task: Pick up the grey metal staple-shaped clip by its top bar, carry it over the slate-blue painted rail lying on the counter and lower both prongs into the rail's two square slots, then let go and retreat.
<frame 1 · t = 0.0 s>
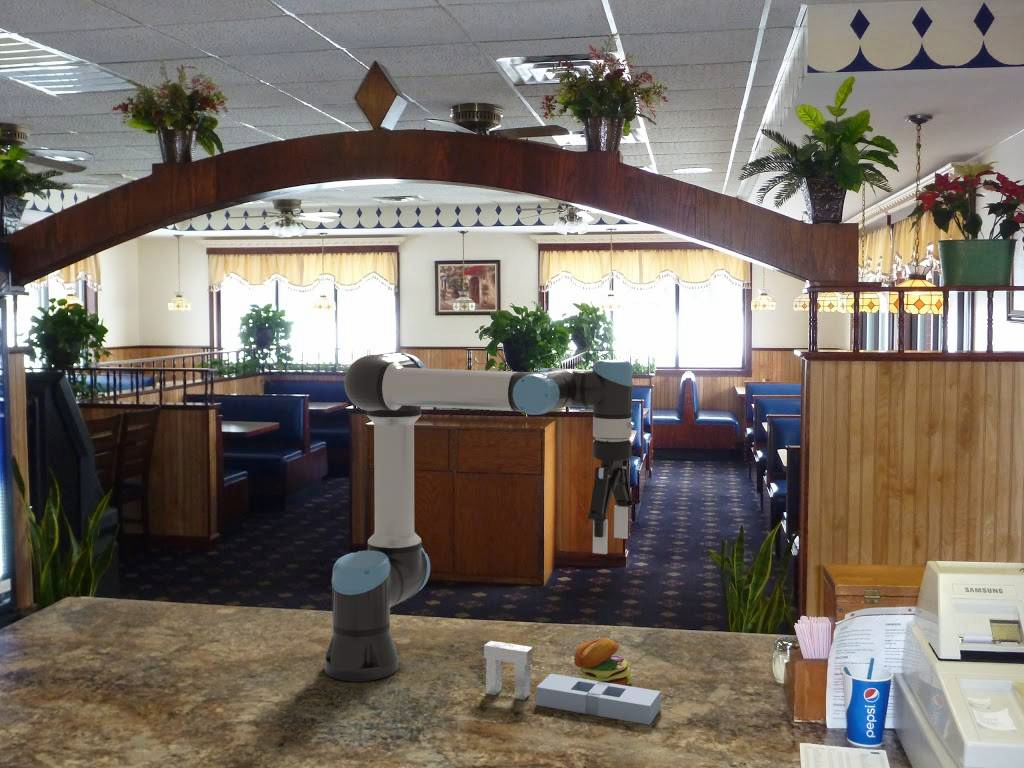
hand: (610, 545, 199), 28 cm above the countertop, fingers open, 13 cm apart
clip: (508, 693, 196), on the countertop
rail: (598, 707, 190), on the countertop
cheeseburger: (602, 683, 202), on the countertop
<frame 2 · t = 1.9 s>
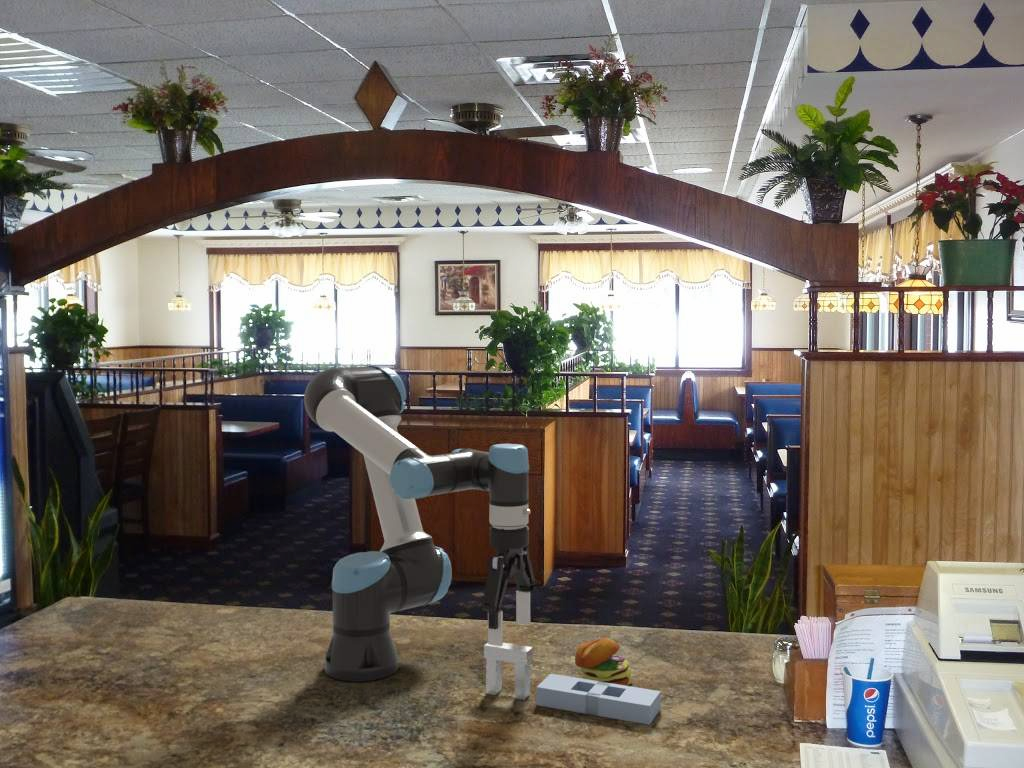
hand: (509, 634, 195), 12 cm above the countertop, fingers open, 13 cm apart
nothing on the countertop moved.
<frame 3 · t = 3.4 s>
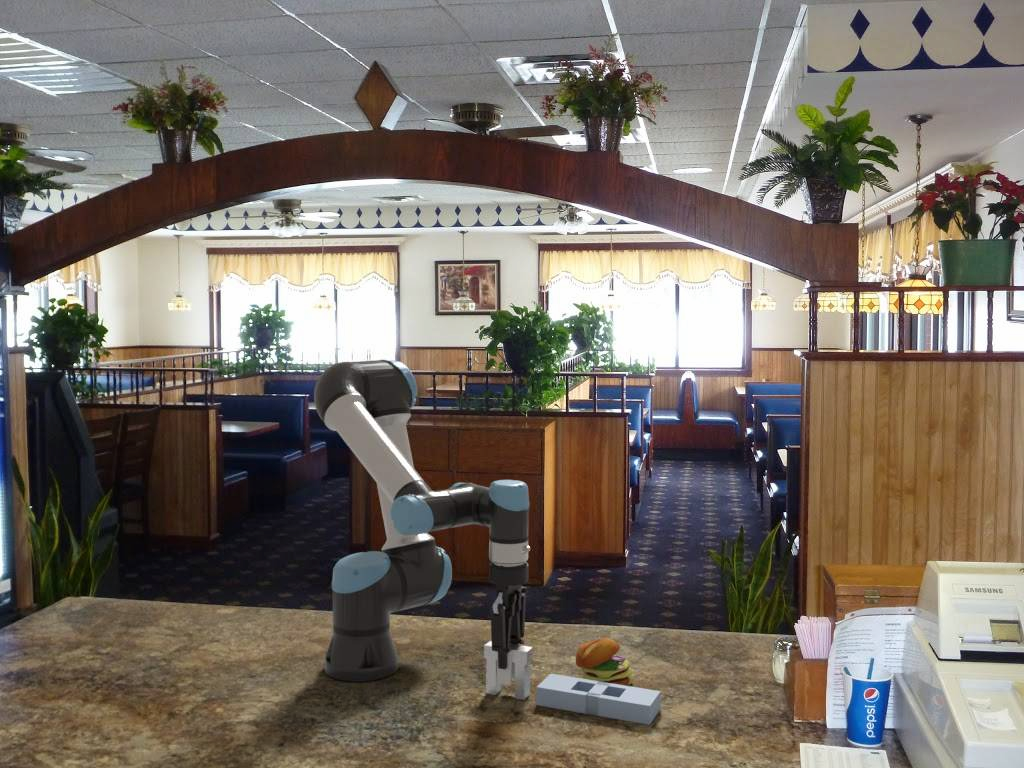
hand: (508, 680, 196), 3 cm above the countertop, fingers closed on clip, 3 cm apart
clip: (508, 693, 196), on the countertop, touching gripper
everything else where it was.
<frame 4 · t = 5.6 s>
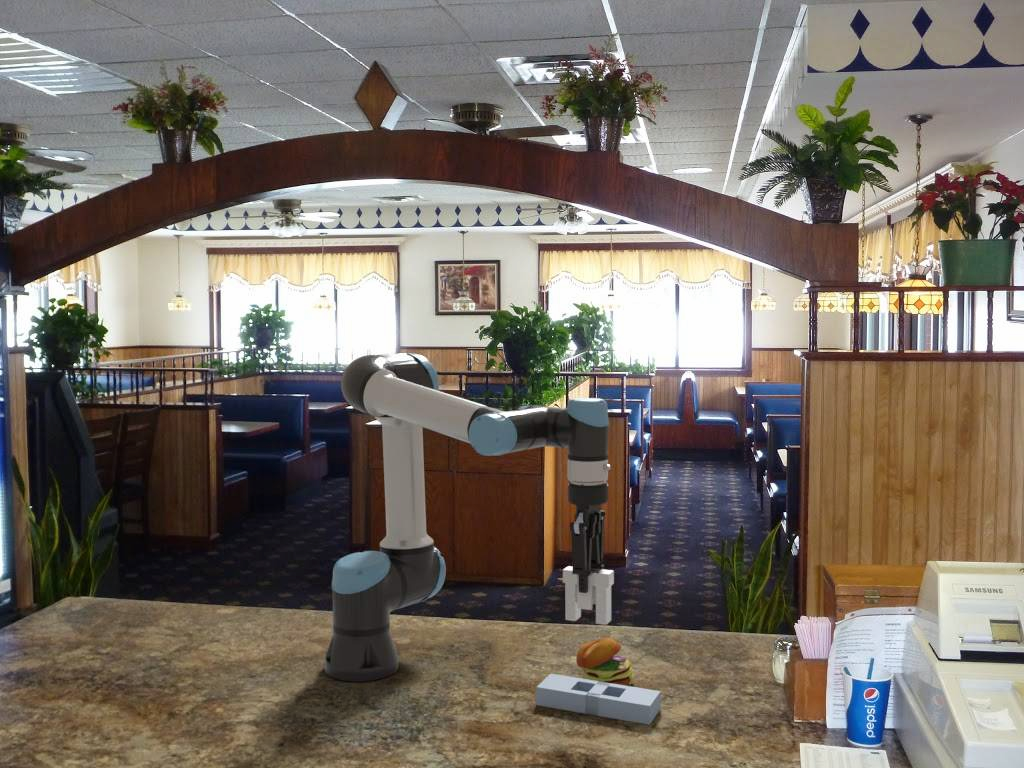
hand: (588, 605, 189), 19 cm above the countertop, fingers closed on clip, 3 cm apart
clip: (588, 620, 189), point 17 cm above the countertop, touching gripper
everything else where it was.
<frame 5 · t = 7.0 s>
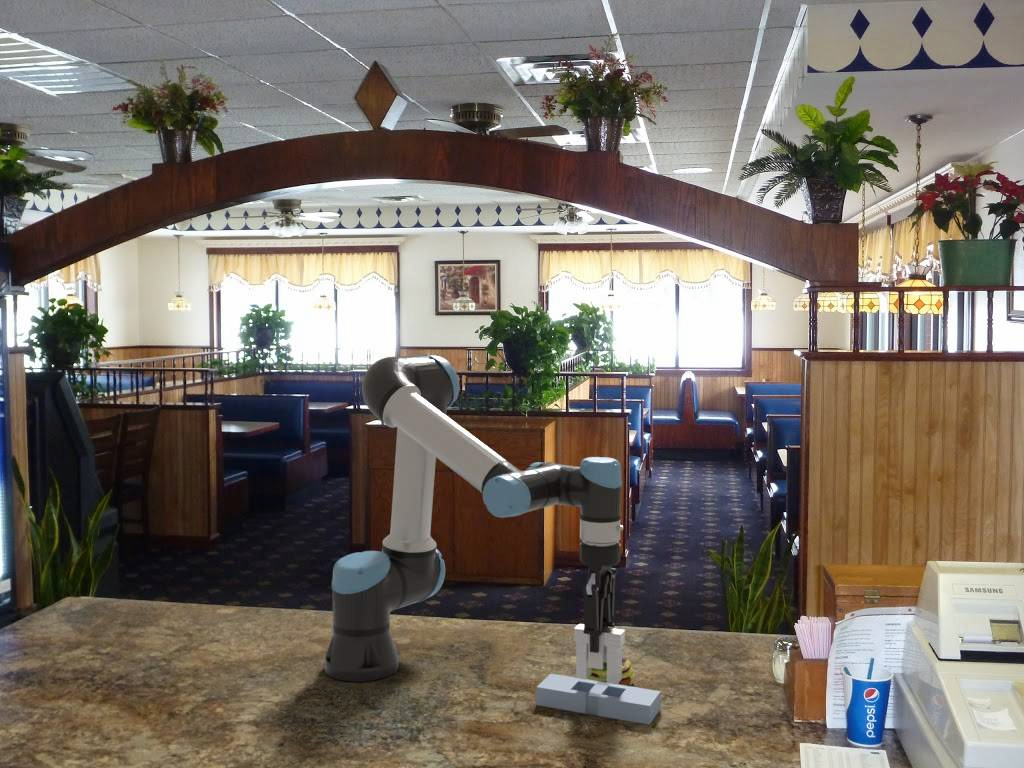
hand: (598, 664, 189), 8 cm above the countertop, fingers closed on clip, 3 cm apart
clip: (598, 678, 189), point 6 cm above the countertop, touching gripper
everything else where it was.
when the fingers open (5 cm above the countertop, at t = 7.8 s): clip drops 2 cm, resting in rail.
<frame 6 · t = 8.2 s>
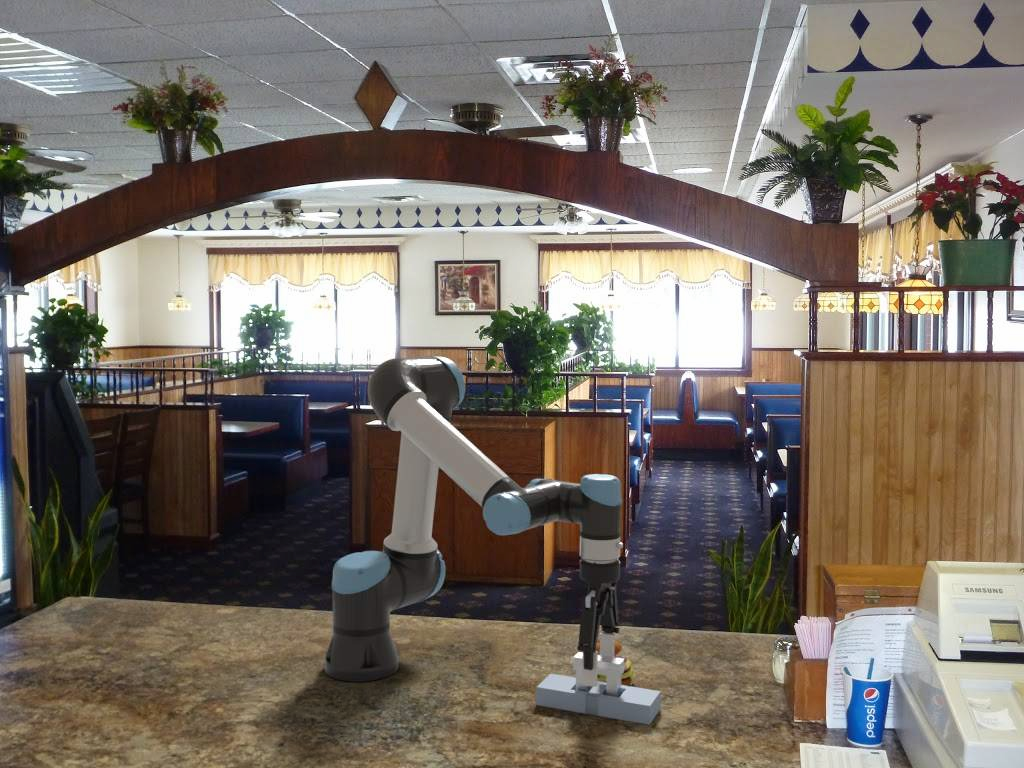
hand: (598, 675, 189), 6 cm above the countertop, fingers open, 9 cm apart
clip: (598, 707, 190), resting in rail
everything else where it was.
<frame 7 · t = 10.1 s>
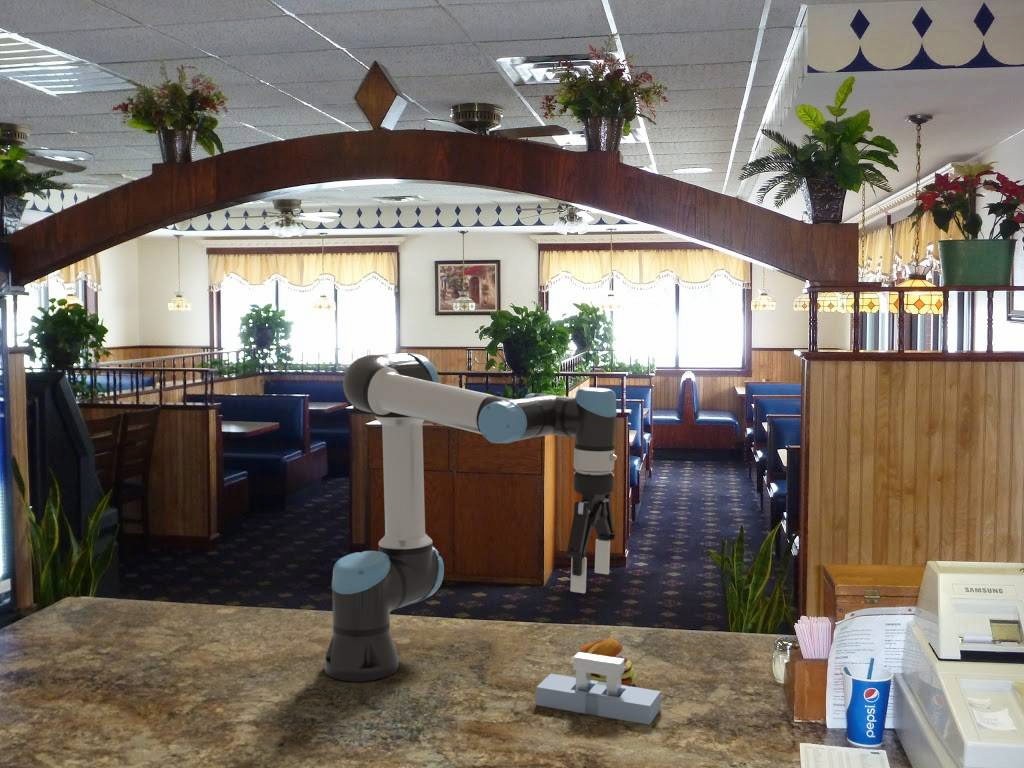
hand: (590, 582, 190), 23 cm above the countertop, fingers open, 13 cm apart
nothing on the countertop moved.
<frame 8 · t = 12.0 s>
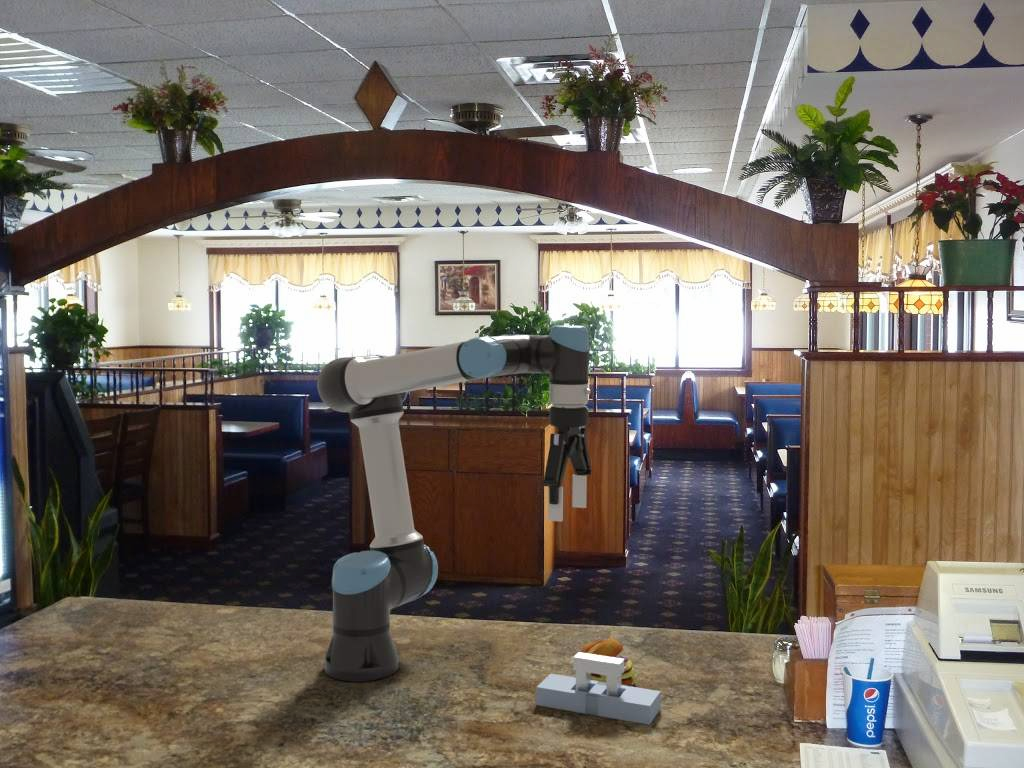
hand: (567, 513, 197), 35 cm above the countertop, fingers open, 13 cm apart
nothing on the countertop moved.
at the end: clip 0.0 cm off-centre on the rail, point 0.0 cm above the rail's base; clip tilted 0°; the gripper is holding nothing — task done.
